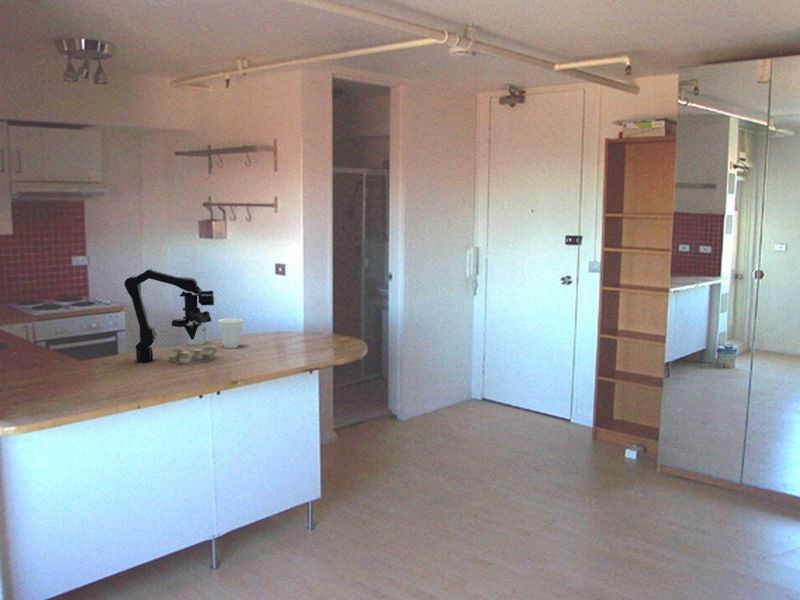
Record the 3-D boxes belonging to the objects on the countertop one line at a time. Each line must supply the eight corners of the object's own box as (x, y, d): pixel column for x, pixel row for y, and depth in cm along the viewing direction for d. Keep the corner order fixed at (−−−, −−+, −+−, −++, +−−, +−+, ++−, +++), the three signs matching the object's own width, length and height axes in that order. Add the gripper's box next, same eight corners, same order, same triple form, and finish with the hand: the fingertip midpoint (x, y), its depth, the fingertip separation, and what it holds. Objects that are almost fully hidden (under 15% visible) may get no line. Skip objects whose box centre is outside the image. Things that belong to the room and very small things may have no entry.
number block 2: (210, 359, 338) (209, 349, 337) (203, 358, 340) (203, 348, 339) (217, 357, 341) (217, 347, 341) (210, 356, 344) (210, 346, 343)
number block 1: (175, 361, 333) (175, 351, 332) (169, 360, 335) (168, 350, 335) (183, 359, 337) (183, 349, 336) (176, 358, 339) (176, 348, 338)
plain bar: (186, 362, 332) (185, 353, 331) (179, 361, 334) (179, 352, 333) (206, 357, 342) (206, 349, 341) (199, 356, 344) (199, 348, 343)
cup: (216, 345, 371) (215, 319, 369) (240, 343, 376) (239, 317, 374) (221, 350, 360) (220, 322, 358) (246, 348, 365) (245, 321, 363)
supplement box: (202, 345, 372) (202, 320, 370) (188, 345, 372) (187, 320, 370) (206, 342, 379) (206, 318, 378) (192, 342, 380) (191, 318, 378)
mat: (189, 365, 327) (189, 364, 327) (169, 361, 335) (169, 360, 335) (218, 358, 341) (218, 357, 341) (197, 354, 349) (197, 354, 349)
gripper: (186, 309, 322) (188, 344, 324) (218, 304, 338) (219, 337, 340) (170, 307, 328) (171, 341, 330) (202, 302, 344) (203, 335, 346)
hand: (192, 339), depth 336 cm, fingers closed
